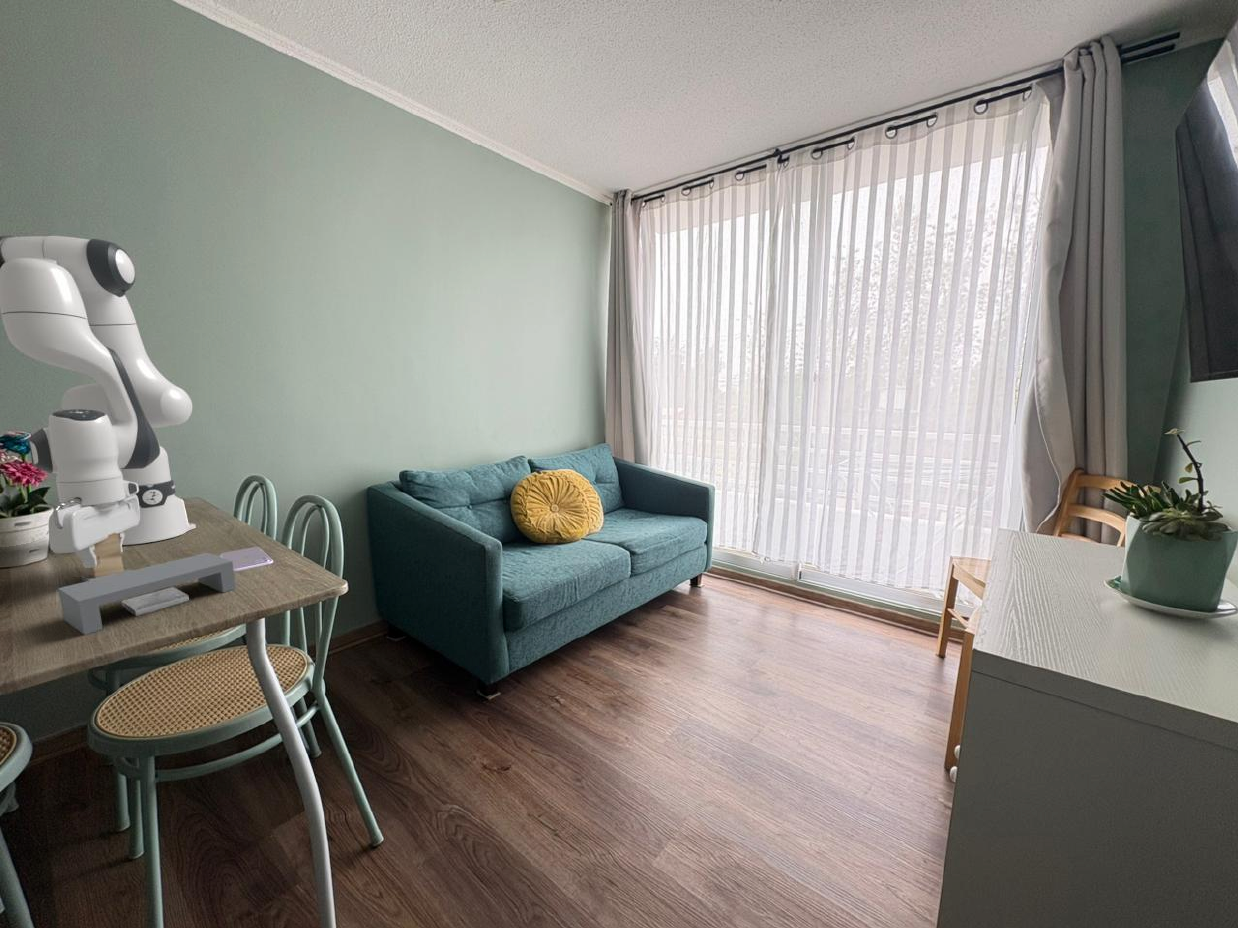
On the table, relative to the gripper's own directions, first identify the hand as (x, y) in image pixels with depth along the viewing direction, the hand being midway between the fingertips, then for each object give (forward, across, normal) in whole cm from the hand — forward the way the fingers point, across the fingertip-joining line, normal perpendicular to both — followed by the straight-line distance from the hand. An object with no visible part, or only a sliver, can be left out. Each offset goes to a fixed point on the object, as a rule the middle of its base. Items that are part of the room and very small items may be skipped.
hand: (104, 560), depth 96 cm
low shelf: (+4, -18, -16) cm, 24 cm away
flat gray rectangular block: (+4, -18, -16) cm, 24 cm away
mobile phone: (+4, +4, -22) cm, 23 cm away
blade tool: (+4, -5, -4) cm, 7 cm away
